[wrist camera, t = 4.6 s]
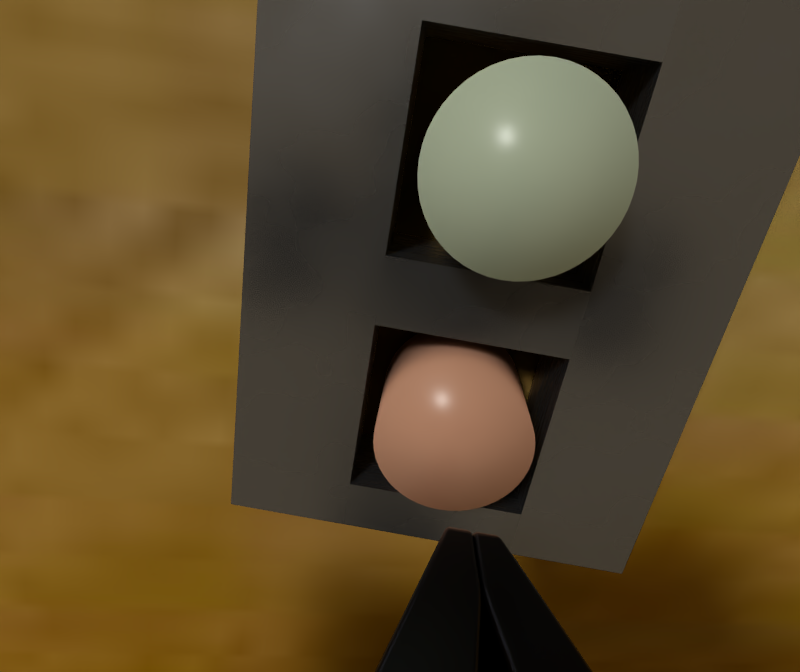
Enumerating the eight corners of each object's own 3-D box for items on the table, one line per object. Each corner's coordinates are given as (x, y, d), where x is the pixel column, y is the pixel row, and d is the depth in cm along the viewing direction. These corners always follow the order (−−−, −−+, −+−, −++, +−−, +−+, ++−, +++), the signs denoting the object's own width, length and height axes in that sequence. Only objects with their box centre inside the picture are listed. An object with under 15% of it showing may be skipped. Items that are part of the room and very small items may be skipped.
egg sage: (567, 258, 12) (600, 297, 10) (409, 230, 12) (401, 262, 10) (617, 84, 11) (670, 77, 8) (440, 53, 11) (439, 36, 8)
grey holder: (933, -372, 9) (1086, -521, 7) (597, 511, 17) (621, 573, 14) (328, -477, 9) (292, -657, 7) (259, 451, 17) (231, 503, 14)
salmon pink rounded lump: (501, 454, 16) (513, 522, 13) (376, 431, 16) (363, 495, 13) (533, 338, 14) (554, 390, 12) (396, 314, 14) (386, 360, 12)
